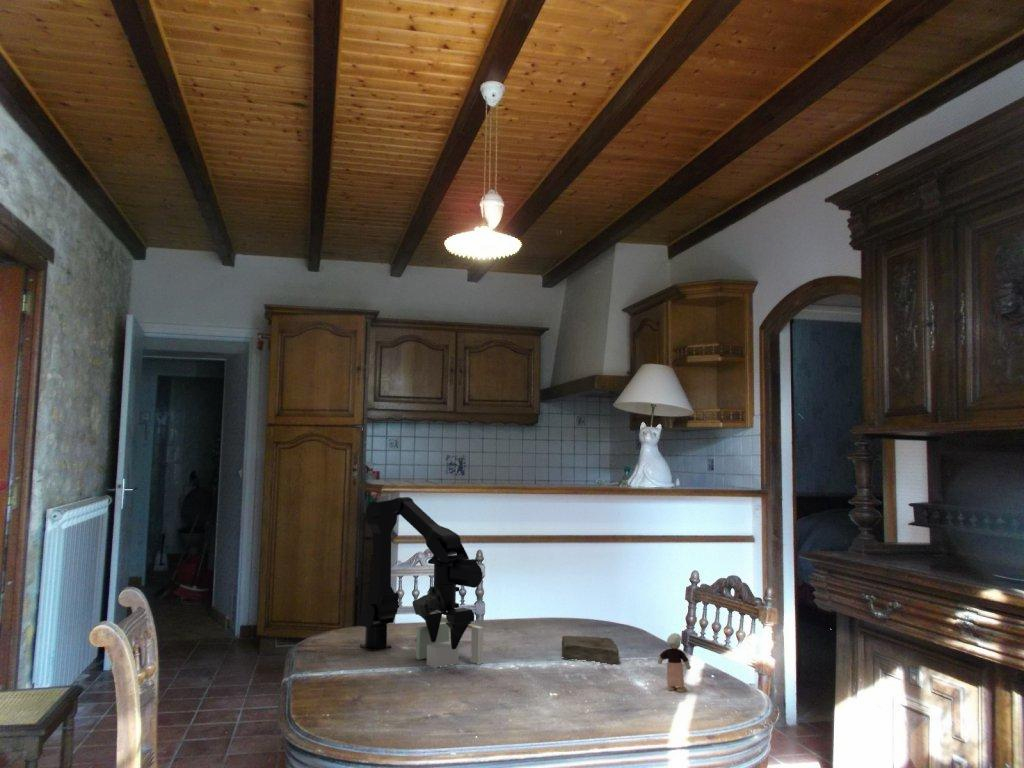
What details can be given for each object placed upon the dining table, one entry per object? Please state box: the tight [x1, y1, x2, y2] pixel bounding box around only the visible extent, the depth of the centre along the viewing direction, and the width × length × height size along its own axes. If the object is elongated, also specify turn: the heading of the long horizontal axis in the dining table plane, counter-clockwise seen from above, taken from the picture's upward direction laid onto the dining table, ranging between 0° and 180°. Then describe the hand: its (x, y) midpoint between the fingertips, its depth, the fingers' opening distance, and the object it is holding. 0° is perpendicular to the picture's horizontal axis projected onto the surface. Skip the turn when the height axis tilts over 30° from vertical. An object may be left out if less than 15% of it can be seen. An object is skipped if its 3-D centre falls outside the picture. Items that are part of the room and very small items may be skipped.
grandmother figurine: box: [657, 632, 691, 693], centre depth 184 cm, size 8×4×13 cm, turn 71°
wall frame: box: [440, 614, 484, 665], centre depth 210 cm, size 18×2×9 cm, turn 39°
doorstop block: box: [426, 640, 460, 669], centre depth 202 cm, size 4×7×5 cm, turn 129°
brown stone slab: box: [561, 635, 620, 665], centre depth 213 cm, size 17×15×4 cm
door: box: [415, 622, 450, 661], centre depth 210 cm, size 10×2×8 cm, turn 138°
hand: (443, 645), depth 202 cm, fingers open, 9 cm apart
